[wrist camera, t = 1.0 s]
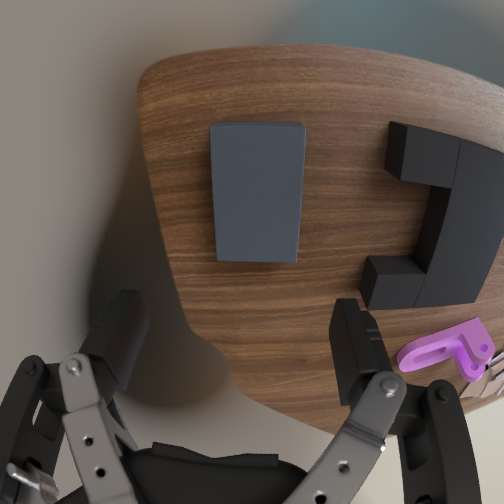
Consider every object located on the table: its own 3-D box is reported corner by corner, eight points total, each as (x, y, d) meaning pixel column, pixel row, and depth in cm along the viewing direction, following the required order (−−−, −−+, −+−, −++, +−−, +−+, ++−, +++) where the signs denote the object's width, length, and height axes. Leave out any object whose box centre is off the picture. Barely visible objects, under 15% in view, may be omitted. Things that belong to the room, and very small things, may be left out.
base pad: (389, 120, 18) (407, 126, 15) (503, 152, 17) (522, 162, 15) (358, 289, 26) (366, 310, 24) (462, 286, 26) (474, 303, 23)
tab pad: (222, 241, 24) (216, 261, 22) (217, 122, 19) (209, 126, 16) (293, 243, 24) (296, 263, 21) (300, 122, 19) (306, 127, 16)
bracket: (477, 316, 28) (499, 353, 22) (468, 342, 31) (485, 376, 25) (398, 344, 31) (414, 389, 25) (394, 368, 33) (407, 408, 27)
